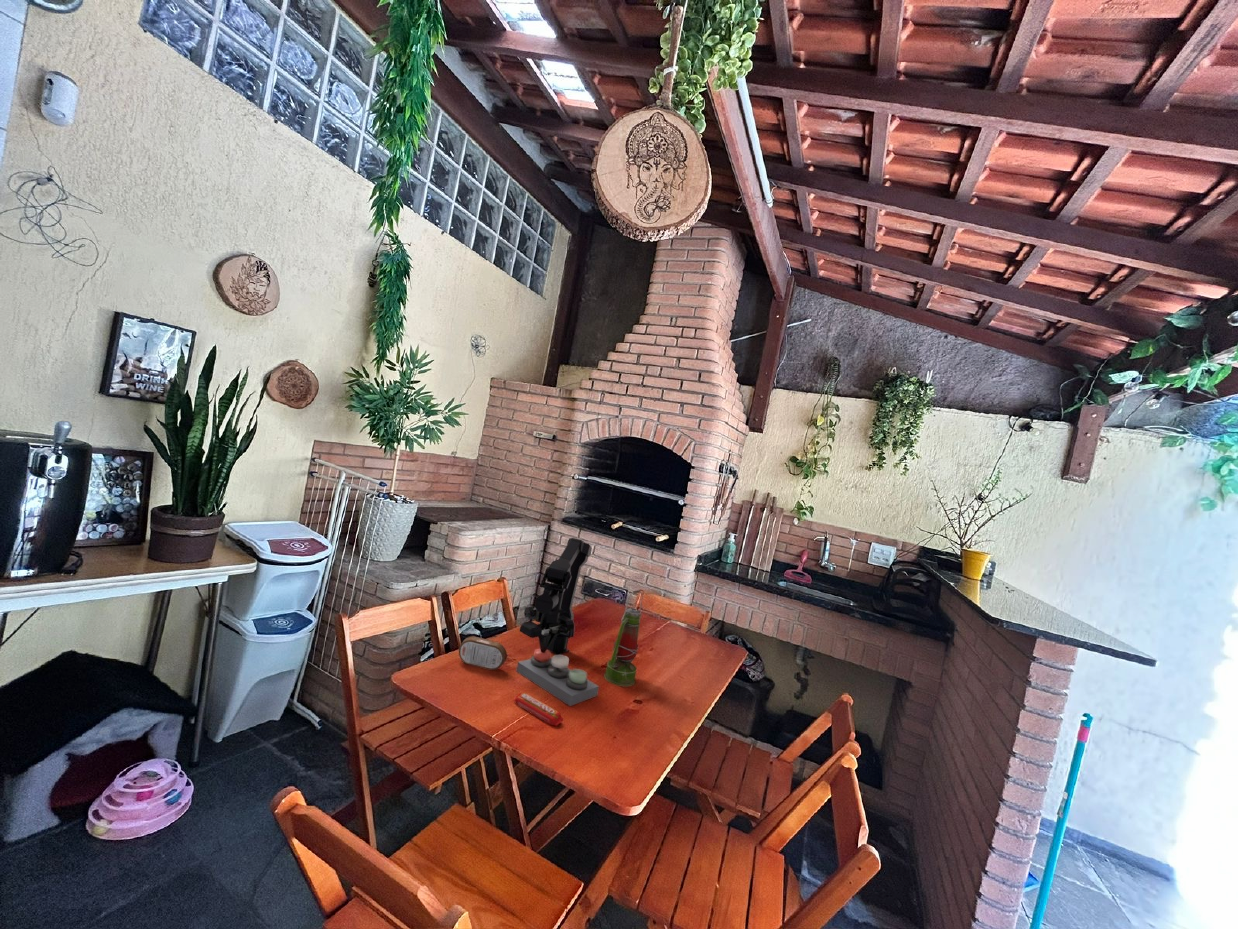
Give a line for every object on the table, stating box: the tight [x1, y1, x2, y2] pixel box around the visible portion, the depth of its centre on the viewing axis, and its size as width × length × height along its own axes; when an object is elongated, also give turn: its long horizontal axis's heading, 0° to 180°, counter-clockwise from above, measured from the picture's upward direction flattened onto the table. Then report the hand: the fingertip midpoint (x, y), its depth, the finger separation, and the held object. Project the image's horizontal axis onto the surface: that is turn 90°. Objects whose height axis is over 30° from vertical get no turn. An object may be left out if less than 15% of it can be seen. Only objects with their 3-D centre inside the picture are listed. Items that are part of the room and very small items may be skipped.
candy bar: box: [513, 692, 564, 727], centre depth 142 cm, size 16×4×3 cm, turn 57°
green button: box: [569, 668, 588, 684], centre depth 157 cm, size 5×5×2 cm
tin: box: [458, 636, 508, 671], centre depth 163 cm, size 15×3×8 cm, turn 84°
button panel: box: [516, 654, 600, 707], centre depth 162 cm, size 12×24×4 cm, turn 51°
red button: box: [533, 648, 552, 662], centre depth 167 cm, size 5×5×2 cm
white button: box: [551, 654, 570, 668], centre depth 162 cm, size 5×5×2 cm
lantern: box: [603, 589, 644, 687], centre depth 174 cm, size 14×11×30 cm
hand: (542, 652), depth 167 cm, fingers closed, pressing on red button
